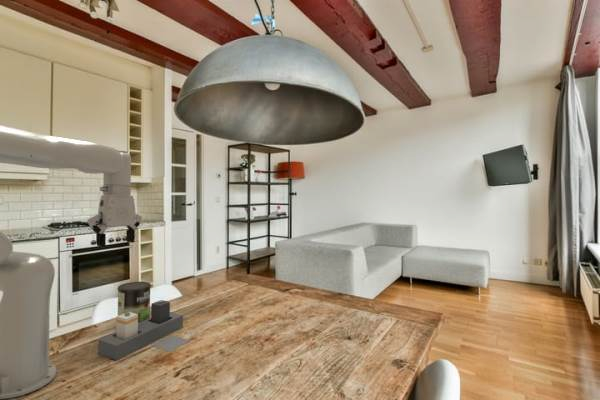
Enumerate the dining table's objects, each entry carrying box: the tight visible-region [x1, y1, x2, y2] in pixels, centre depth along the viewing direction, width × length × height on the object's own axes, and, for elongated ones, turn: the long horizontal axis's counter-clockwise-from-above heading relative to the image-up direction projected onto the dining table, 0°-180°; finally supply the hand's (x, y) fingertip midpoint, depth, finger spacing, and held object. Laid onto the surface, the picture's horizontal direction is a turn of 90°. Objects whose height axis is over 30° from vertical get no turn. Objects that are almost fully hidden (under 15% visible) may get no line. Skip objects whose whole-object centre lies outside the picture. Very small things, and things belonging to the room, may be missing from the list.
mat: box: [151, 334, 191, 353], centre depth 94 cm, size 8×8×1 cm
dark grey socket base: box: [97, 311, 184, 361], centre depth 96 cm, size 24×8×4 cm, turn 156°
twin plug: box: [150, 299, 171, 324], centre depth 102 cm, size 4×4×9 cm
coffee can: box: [117, 281, 152, 323], centre depth 107 cm, size 10×10×14 cm
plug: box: [115, 312, 138, 340], centre depth 91 cm, size 4×4×9 cm
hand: (116, 244), depth 97 cm, fingers open, 9 cm apart
